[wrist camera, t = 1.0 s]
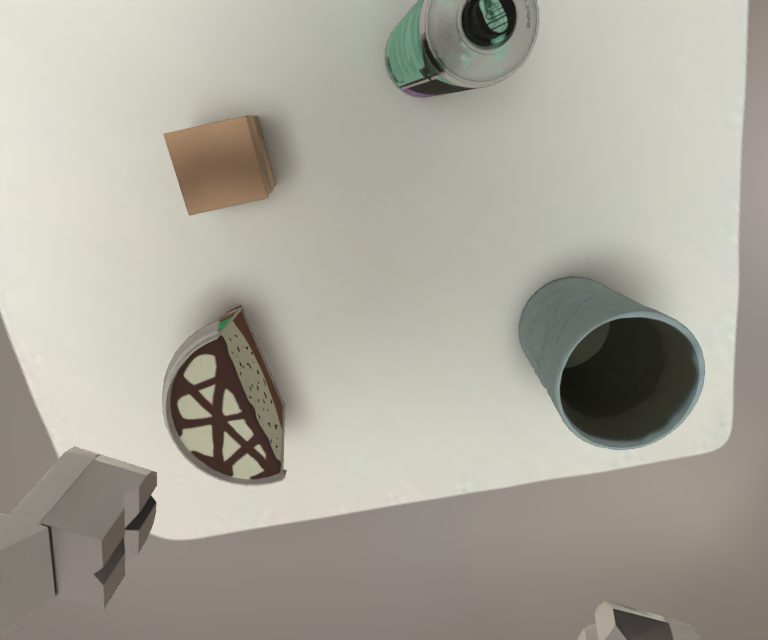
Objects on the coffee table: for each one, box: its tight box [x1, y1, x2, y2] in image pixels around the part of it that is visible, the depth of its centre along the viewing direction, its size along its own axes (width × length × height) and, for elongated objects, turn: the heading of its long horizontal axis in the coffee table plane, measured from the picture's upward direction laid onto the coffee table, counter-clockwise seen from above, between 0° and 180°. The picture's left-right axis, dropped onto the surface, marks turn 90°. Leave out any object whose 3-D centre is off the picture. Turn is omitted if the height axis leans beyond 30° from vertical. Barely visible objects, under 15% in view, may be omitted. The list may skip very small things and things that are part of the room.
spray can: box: [385, 0, 539, 97], centre depth 35 cm, size 6×6×20 cm
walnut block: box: [164, 116, 276, 215], centre depth 42 cm, size 5×5×8 cm
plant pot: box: [519, 277, 705, 450], centre depth 47 cm, size 10×10×12 cm
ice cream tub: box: [162, 306, 287, 486], centre depth 46 cm, size 12×6×10 cm, turn 19°
